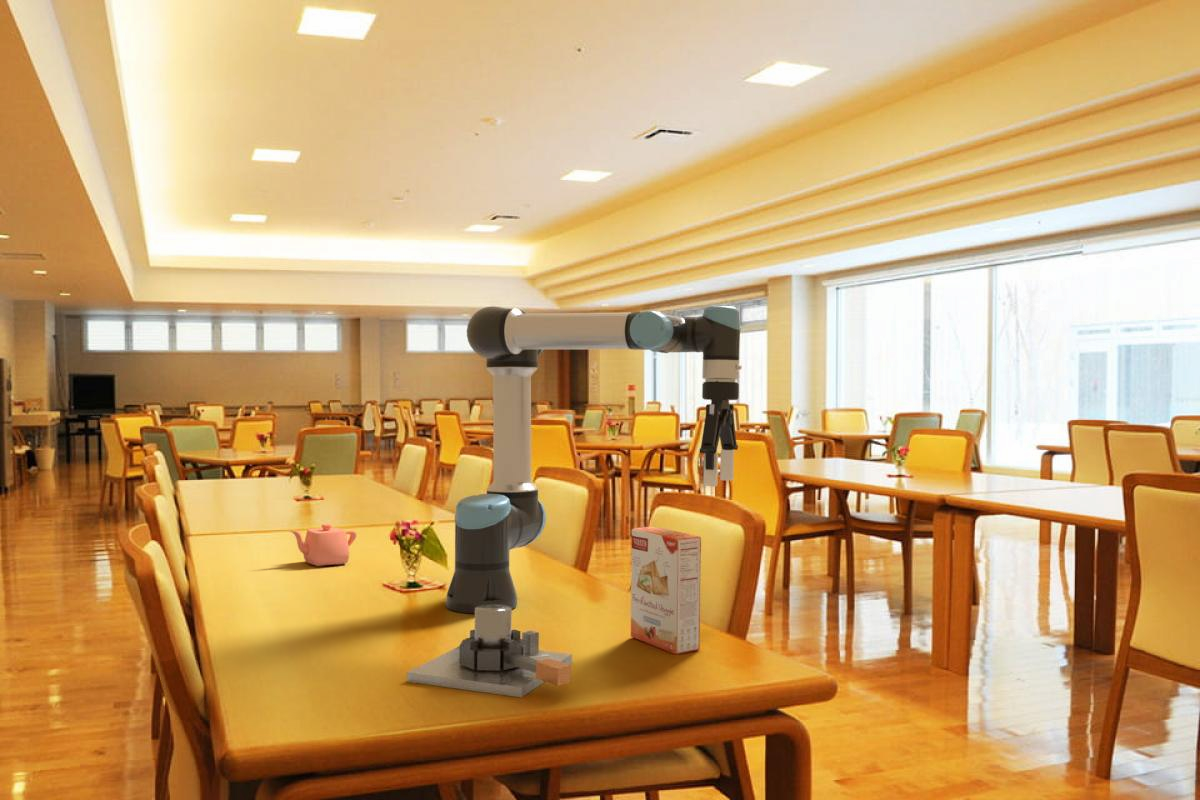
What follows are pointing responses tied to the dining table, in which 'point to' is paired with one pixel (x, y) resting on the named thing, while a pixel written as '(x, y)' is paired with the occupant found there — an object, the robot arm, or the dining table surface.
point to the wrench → (512, 659)
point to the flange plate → (510, 682)
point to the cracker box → (666, 589)
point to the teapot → (325, 545)
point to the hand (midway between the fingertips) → (718, 483)
